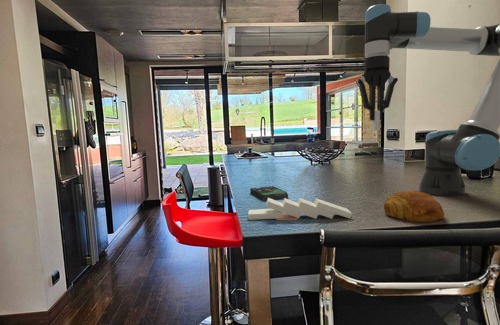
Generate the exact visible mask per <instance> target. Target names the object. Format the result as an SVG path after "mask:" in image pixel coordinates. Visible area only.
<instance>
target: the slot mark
mask: <svg viewBox="0 0 500 325" xmlns="http://www.w3.org/2000/svg"><path fill="white" fill-rule="evenodd" d="M298 219H299V218H296V217H294V216H291V215H288V214H285V213H283V218H275V220H276V221H298Z"/></svg>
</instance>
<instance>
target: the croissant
mask: <svg viewBox="0 0 500 325" xmlns="http://www.w3.org/2000/svg"><path fill="white" fill-rule="evenodd" d="M383 210H384V213H385V215H387V216H389V217H392V218H395V219H399V220H403V221H404V220H405V221H407V222H409V223H410V222H411V223H412V222H415V223H416V222H417V223H429V222H430V223H432V222H433V223H434V222H436V221H439V220H442V219H443V218H444V217H445V212H444V208H443V207H442V205H441V203H440V202H438V200H436V199H435V198H434V197H433V196H432V194H427V193H423V192H421V191H416V190H415V191H414V190H413V191H412V190H411V191H409V190H408V191H402V192H395V193H393V194H391V195H389V196H388V197H387V198H386V200H385V201H384V202H383Z"/></svg>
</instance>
